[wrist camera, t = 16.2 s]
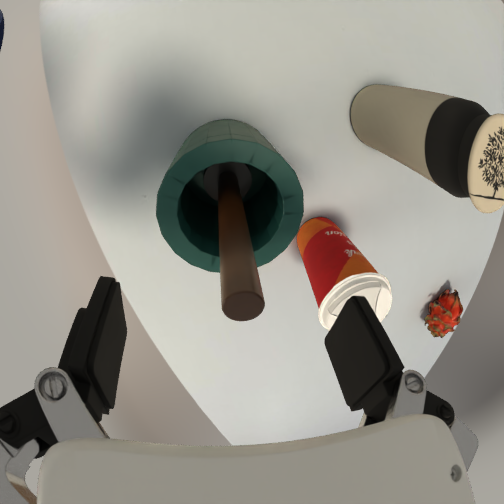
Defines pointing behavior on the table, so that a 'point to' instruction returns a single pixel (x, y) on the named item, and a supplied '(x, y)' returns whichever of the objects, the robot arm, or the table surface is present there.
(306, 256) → the paper cup
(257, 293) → the peg on round base
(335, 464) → the robot arm
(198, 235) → the jar
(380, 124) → the travel mug
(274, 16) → the table surface
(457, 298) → the dragon fruit
